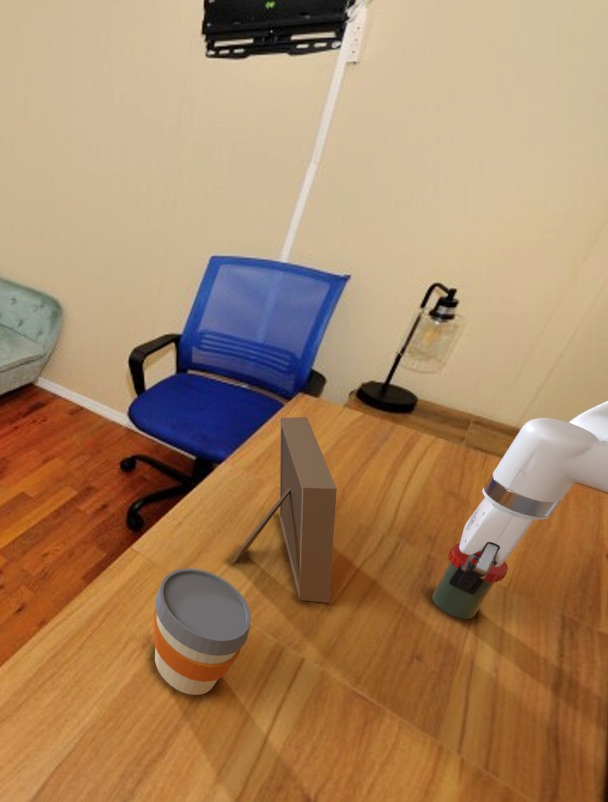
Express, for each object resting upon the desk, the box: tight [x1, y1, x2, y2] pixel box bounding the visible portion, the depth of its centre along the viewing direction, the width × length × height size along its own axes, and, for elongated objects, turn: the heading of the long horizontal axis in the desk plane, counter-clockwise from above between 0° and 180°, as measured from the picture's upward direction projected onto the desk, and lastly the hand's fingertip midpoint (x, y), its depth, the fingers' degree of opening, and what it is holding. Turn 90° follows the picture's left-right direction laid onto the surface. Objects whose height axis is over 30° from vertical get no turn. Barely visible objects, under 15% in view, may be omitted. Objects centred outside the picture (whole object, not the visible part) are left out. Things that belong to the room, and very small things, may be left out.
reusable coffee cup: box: [152, 567, 252, 696], centre depth 76 cm, size 12×12×15 cm
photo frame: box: [231, 416, 338, 604], centre depth 93 cm, size 15×22×25 cm
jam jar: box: [431, 561, 496, 620], centre depth 85 cm, size 6×6×11 cm
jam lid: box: [447, 542, 509, 583], centre depth 83 cm, size 7×7×2 cm
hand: (464, 575), depth 85 cm, fingers closed on jam lid, 6 cm apart
